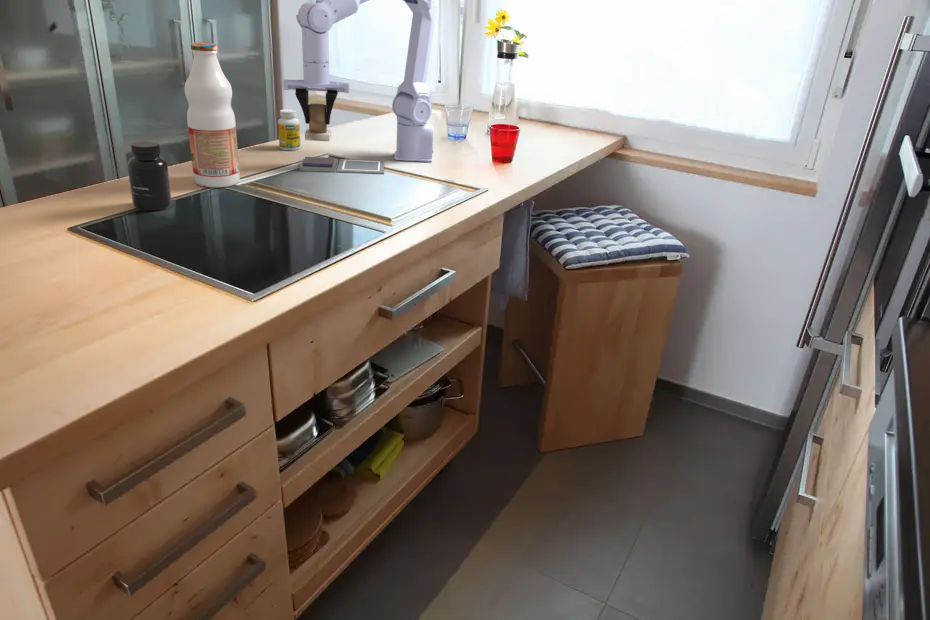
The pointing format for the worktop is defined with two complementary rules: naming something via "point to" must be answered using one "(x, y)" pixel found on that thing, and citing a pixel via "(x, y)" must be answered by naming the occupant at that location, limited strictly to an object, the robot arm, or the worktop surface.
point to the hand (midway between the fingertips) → (317, 123)
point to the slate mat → (361, 166)
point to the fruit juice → (211, 120)
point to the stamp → (317, 124)
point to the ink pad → (318, 164)
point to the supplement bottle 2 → (289, 130)
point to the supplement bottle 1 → (149, 177)
